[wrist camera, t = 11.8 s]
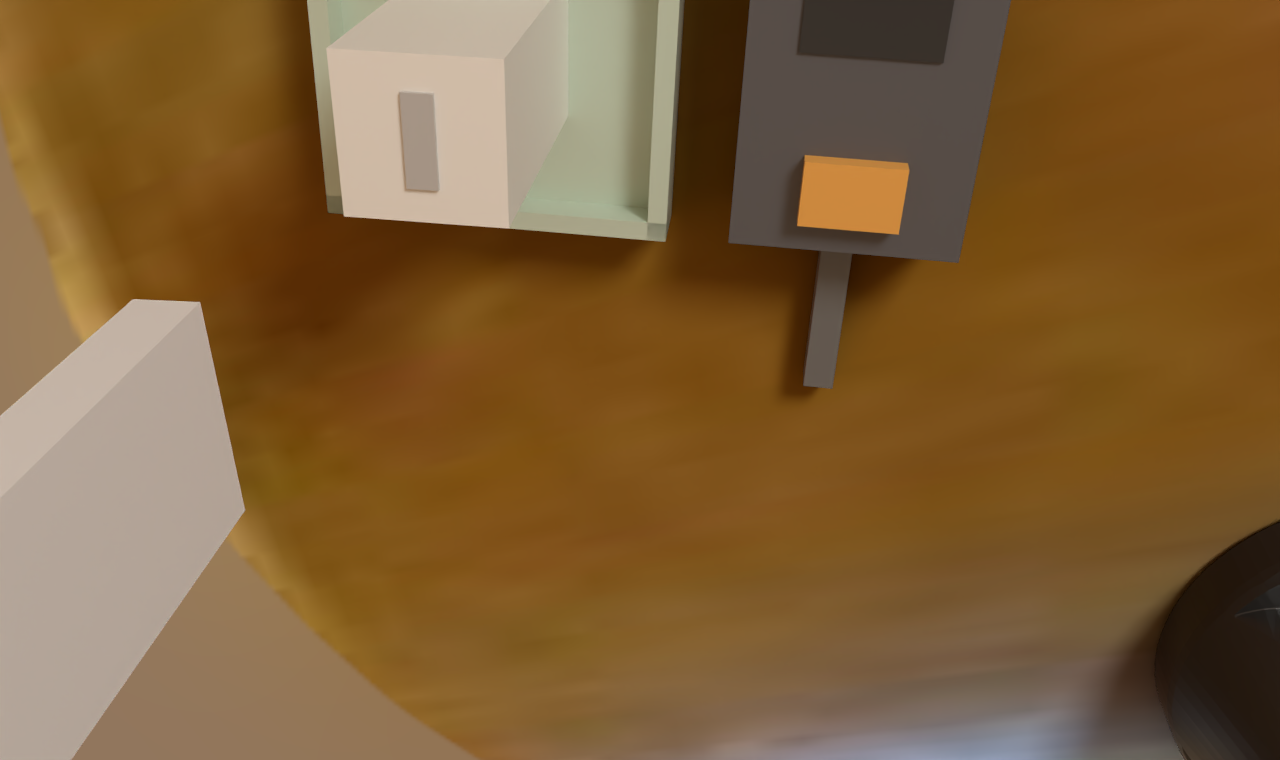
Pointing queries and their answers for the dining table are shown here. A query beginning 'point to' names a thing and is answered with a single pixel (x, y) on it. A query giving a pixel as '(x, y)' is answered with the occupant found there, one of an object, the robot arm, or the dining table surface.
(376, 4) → the dish
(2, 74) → the dining table surface
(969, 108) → the power strip
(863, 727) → the dining table surface
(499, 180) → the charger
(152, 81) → the dining table surface
